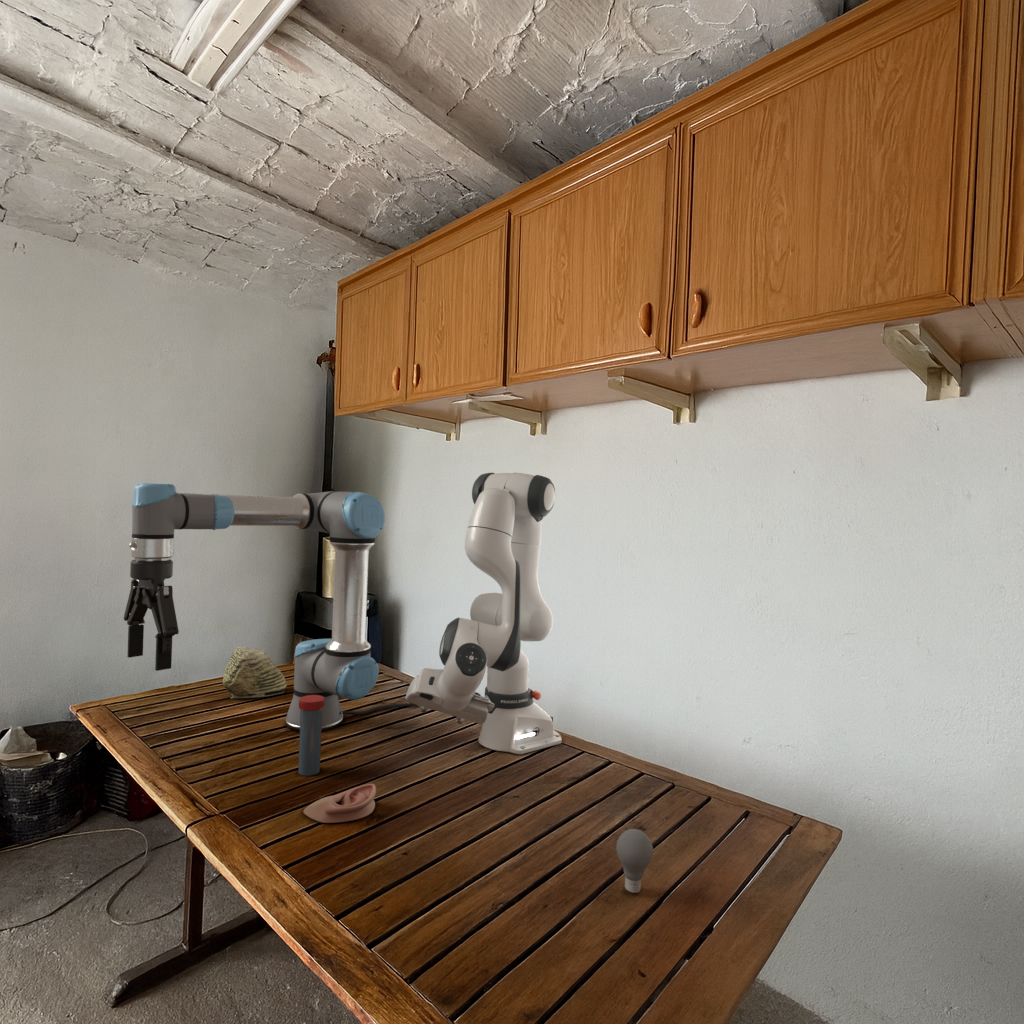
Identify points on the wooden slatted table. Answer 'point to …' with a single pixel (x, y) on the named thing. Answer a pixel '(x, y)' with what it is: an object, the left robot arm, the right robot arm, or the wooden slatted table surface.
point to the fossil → (252, 674)
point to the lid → (311, 702)
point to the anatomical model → (343, 805)
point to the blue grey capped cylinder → (310, 742)
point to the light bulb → (634, 857)
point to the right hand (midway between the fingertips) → (441, 715)
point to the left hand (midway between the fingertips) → (148, 662)
